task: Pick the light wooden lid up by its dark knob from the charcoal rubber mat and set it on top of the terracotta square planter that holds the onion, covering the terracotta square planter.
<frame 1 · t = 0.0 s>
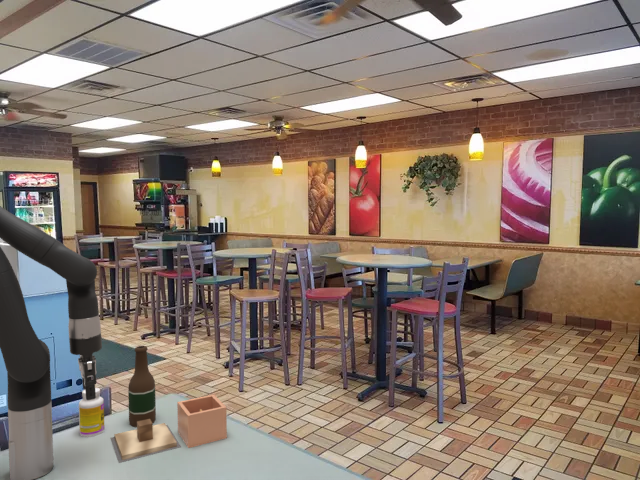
hand: (89, 393, 124), 17 cm above the table, tool pointing down, fingers open, 8 cm apart
mat: (145, 444, 132), on the table
beer bottle: (142, 424, 145), on the table
lid: (145, 442, 132), resting on mat
supplement bottle: (92, 433, 138), on the table
terracotta square planter: (202, 436, 136), on the table
onion: (202, 437, 136), resting in terracotta square planter
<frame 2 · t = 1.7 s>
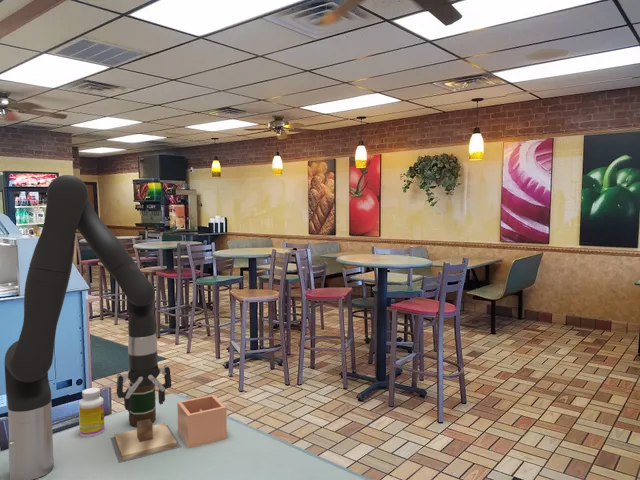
hand: (145, 406, 131), 11 cm above the table, tool pointing down, fingers open, 8 cm apart
nothing on the table moved.
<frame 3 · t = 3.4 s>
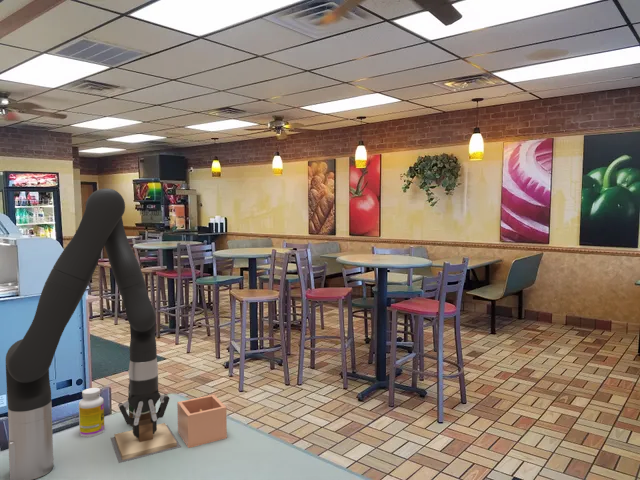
hand: (145, 434, 132), 3 cm above the table, tool pointing down, fingers closed on lid, 3 cm apart
lid: (145, 442, 132), point 1 cm above the table, touching gripper, mat
everything else where it was.
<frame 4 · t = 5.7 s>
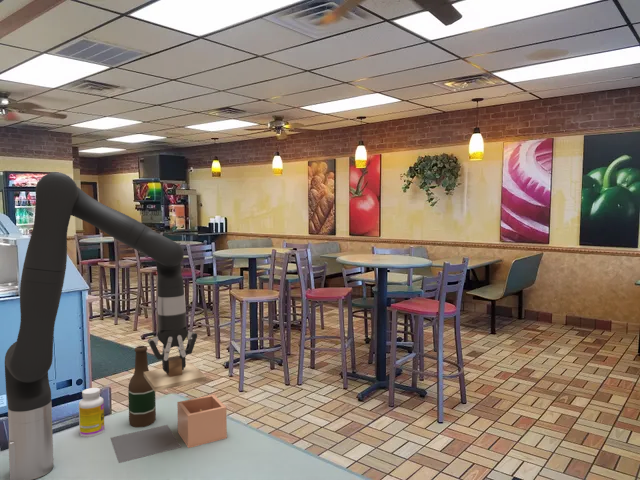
hand: (174, 370, 133), 20 cm above the table, tool pointing down, fingers closed on lid, 3 cm apart
lid: (174, 378, 133), point 18 cm above the table, touching gripper
everything else where it was.
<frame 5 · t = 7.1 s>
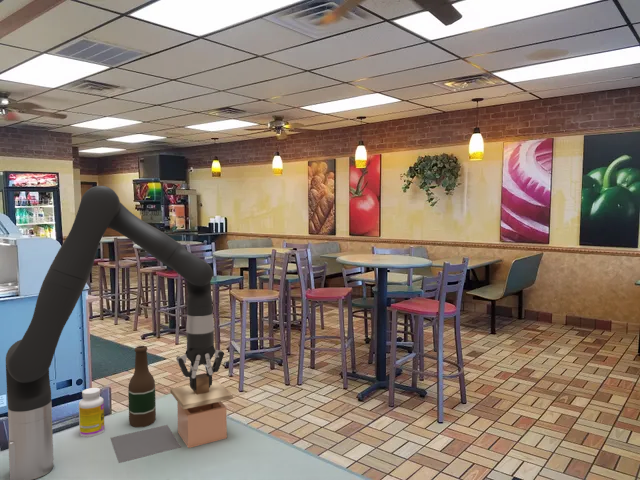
hand: (201, 388, 135), 14 cm above the table, tool pointing down, fingers closed on lid, 3 cm apart
lid: (201, 395, 136), point 12 cm above the table, touching gripper
everything else where it was.
when the fingers open (13 cm above the table, at t = 8.0 s): lid drops 2 cm, resting on terracotta square planter.
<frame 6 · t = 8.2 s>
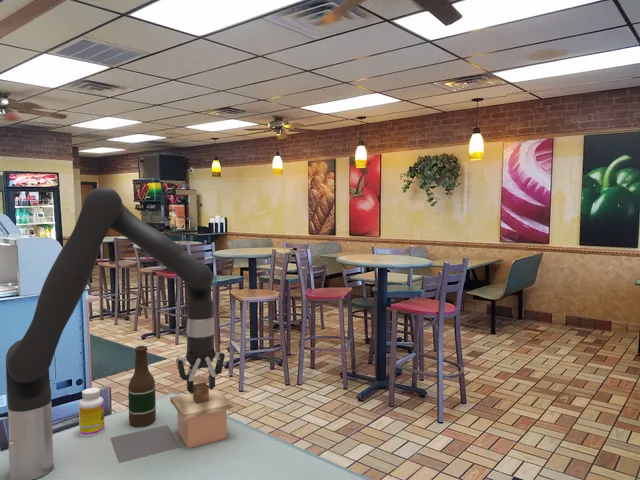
hand: (201, 390, 135), 14 cm above the table, tool pointing down, fingers open, 5 cm apart
lid: (201, 404, 136), point 9 cm above the table, touching terracotta square planter
everything else where it was.
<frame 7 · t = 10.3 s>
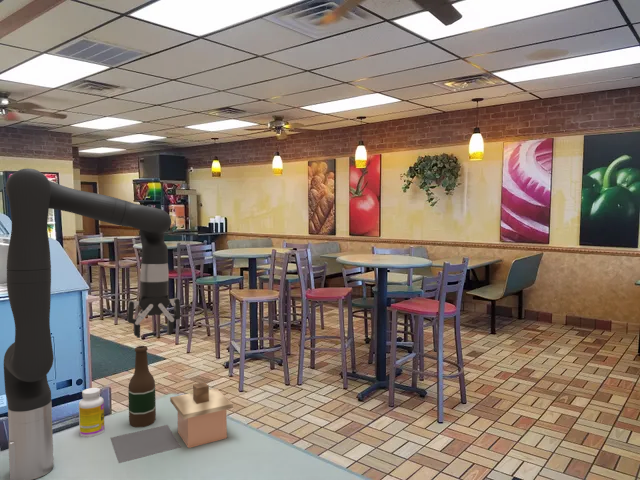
hand: (154, 335, 134), 30 cm above the table, tool pointing down, fingers open, 8 cm apart
nothing on the table moved.
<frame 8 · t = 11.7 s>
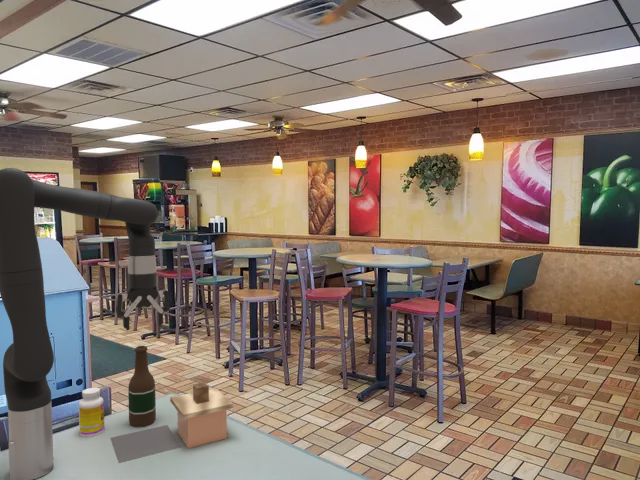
hand: (143, 327, 134), 32 cm above the table, tool pointing down, fingers open, 8 cm apart
nothing on the table moved.
at the end: lid 0.1 cm off-centre on the terracotta square planter, point 9.5 cm above the terracotta square planter's base; lid tilted 0°; the gripper is holding nothing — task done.
